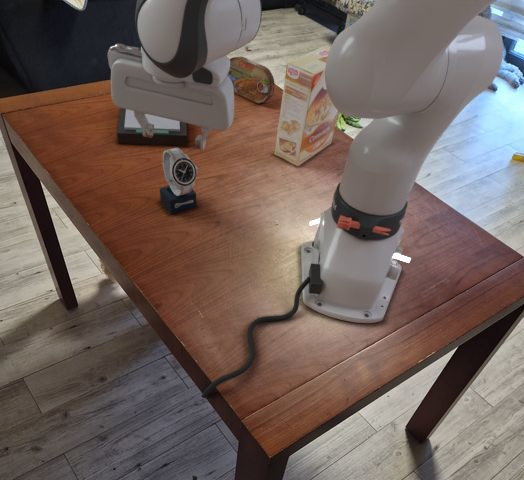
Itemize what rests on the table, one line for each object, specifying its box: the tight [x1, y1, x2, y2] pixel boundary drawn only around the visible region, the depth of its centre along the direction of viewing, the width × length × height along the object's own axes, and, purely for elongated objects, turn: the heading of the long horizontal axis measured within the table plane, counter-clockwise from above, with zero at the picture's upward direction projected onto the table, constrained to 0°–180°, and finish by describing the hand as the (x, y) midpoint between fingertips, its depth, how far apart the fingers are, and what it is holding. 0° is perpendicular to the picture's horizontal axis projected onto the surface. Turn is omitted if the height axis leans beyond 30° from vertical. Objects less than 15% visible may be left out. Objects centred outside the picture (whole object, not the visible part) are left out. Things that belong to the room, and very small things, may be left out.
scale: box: [116, 108, 188, 147], centre depth 108 cm, size 15×15×3 cm
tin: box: [227, 56, 275, 104], centre depth 121 cm, size 15×3×8 cm, turn 50°
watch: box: [159, 147, 199, 215], centre depth 88 cm, size 6×8×11 cm
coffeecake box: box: [273, 44, 340, 167], centre depth 103 cm, size 15×7×20 cm, turn 143°
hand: (174, 141), depth 82 cm, fingers open, 8 cm apart
